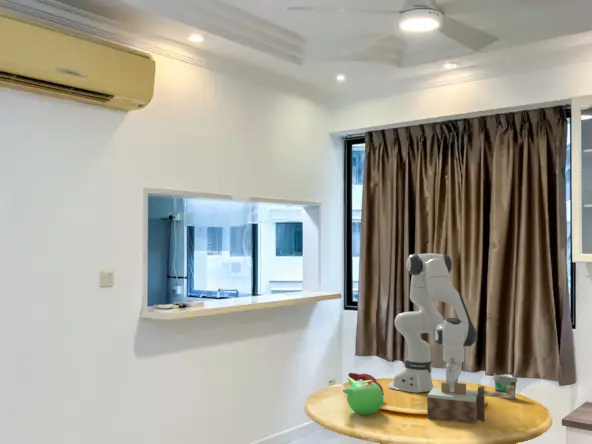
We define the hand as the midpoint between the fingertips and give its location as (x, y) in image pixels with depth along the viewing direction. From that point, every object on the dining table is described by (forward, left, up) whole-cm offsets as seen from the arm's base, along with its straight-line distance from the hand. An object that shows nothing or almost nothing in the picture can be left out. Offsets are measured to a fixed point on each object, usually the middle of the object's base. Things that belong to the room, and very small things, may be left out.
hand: (453, 389), depth 257 cm
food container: (+17, +42, -12) cm, 47 cm away
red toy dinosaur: (-43, +20, -12) cm, 49 cm away
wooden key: (+18, 0, -1) cm, 18 cm away
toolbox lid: (0, 0, -4) cm, 4 cm away
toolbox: (+1, 0, -12) cm, 12 cm away
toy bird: (-37, -10, -12) cm, 40 cm away
